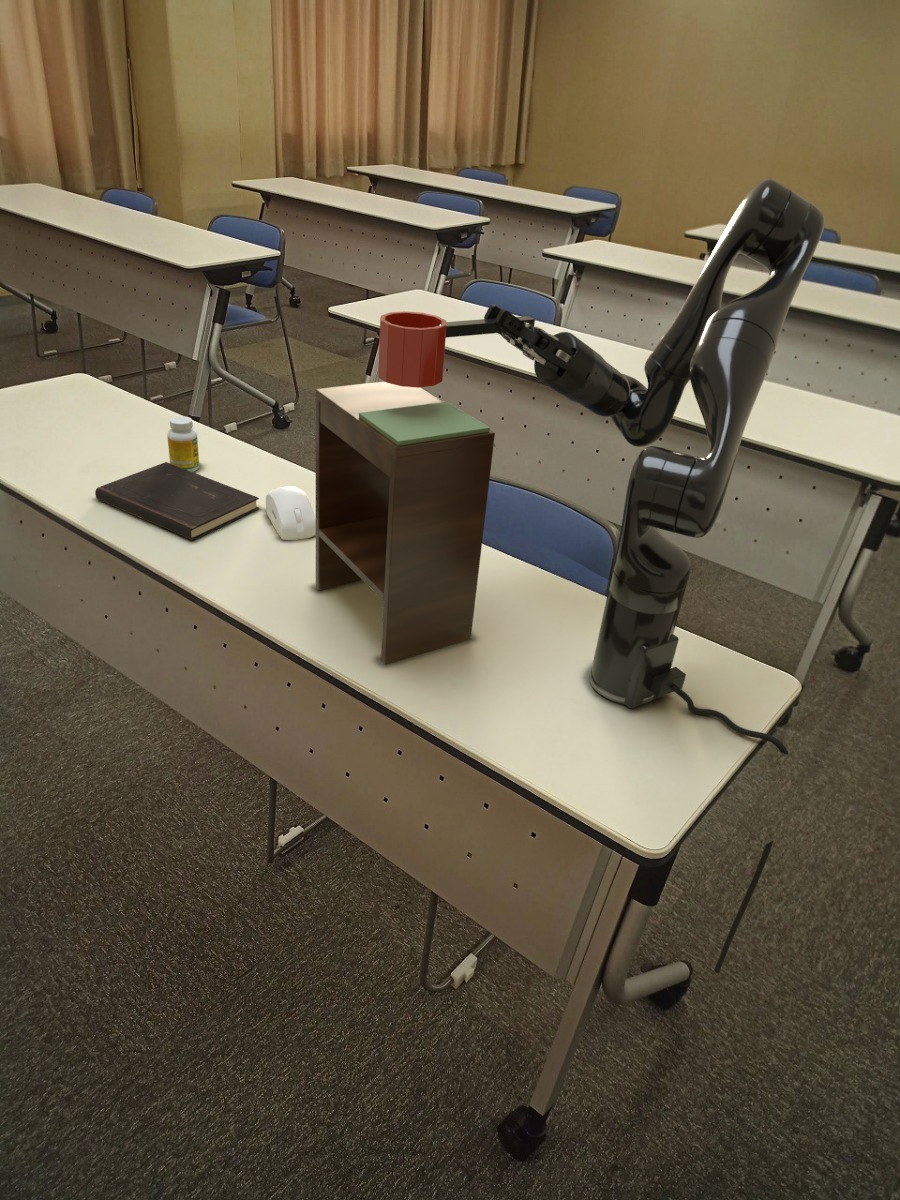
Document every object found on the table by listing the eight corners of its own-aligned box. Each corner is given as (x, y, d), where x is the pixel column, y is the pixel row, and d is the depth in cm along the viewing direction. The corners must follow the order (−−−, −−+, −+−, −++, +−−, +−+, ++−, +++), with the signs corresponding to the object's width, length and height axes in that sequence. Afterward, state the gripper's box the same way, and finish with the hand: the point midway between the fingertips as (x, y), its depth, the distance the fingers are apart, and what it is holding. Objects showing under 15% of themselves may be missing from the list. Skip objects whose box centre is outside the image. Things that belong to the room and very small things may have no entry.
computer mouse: (281, 543, 140) (280, 508, 137) (262, 509, 150) (261, 476, 146) (319, 538, 142) (319, 504, 139) (298, 505, 152) (297, 473, 149)
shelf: (470, 639, 121) (495, 433, 104) (384, 664, 114) (396, 448, 98) (395, 568, 136) (406, 378, 120) (315, 587, 129) (315, 388, 113)
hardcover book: (167, 473, 159) (166, 461, 158) (259, 509, 150) (258, 497, 148) (95, 500, 147) (94, 488, 146) (191, 541, 138) (189, 529, 136)
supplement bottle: (171, 462, 163) (166, 414, 158) (200, 462, 165) (196, 414, 159) (169, 473, 159) (164, 425, 154) (199, 473, 160) (195, 425, 155)
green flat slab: (489, 432, 105) (490, 427, 104) (398, 446, 98) (398, 441, 98) (446, 405, 111) (446, 401, 111) (358, 417, 105) (358, 412, 105)
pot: (543, 372, 112) (550, 319, 108) (398, 390, 101) (400, 331, 98) (508, 355, 118) (514, 303, 114) (367, 370, 107) (368, 313, 103)
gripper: (557, 333, 124) (478, 275, 112) (620, 360, 114) (541, 299, 103) (531, 379, 126) (450, 326, 114) (591, 409, 116) (510, 355, 104)
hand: (494, 314), depth 108 cm, fingers closed on pot
